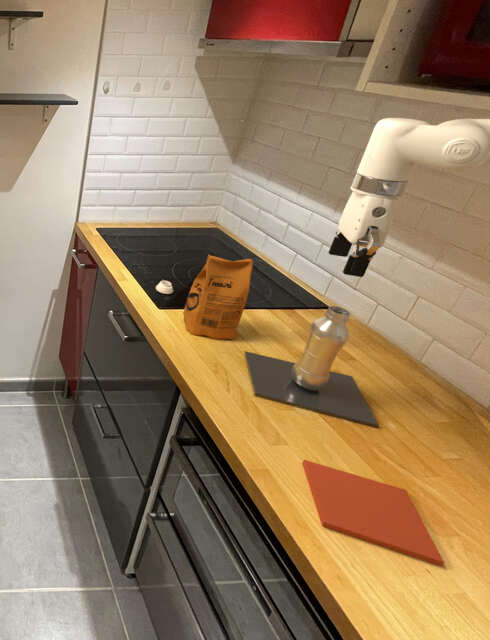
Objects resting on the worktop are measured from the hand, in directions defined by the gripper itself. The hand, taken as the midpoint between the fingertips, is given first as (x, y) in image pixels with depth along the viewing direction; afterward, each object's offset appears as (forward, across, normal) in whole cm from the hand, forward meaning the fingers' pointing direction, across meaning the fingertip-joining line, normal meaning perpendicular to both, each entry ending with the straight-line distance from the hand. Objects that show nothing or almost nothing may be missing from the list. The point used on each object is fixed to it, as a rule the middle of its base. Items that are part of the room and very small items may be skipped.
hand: (344, 264), depth 92 cm
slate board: (+30, -2, -1) cm, 31 cm away
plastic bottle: (+30, -2, -1) cm, 30 cm away
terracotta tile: (+30, -33, -3) cm, 45 cm away
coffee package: (+31, +14, +18) cm, 38 cm away
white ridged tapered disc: (+31, +30, +29) cm, 52 cm away
